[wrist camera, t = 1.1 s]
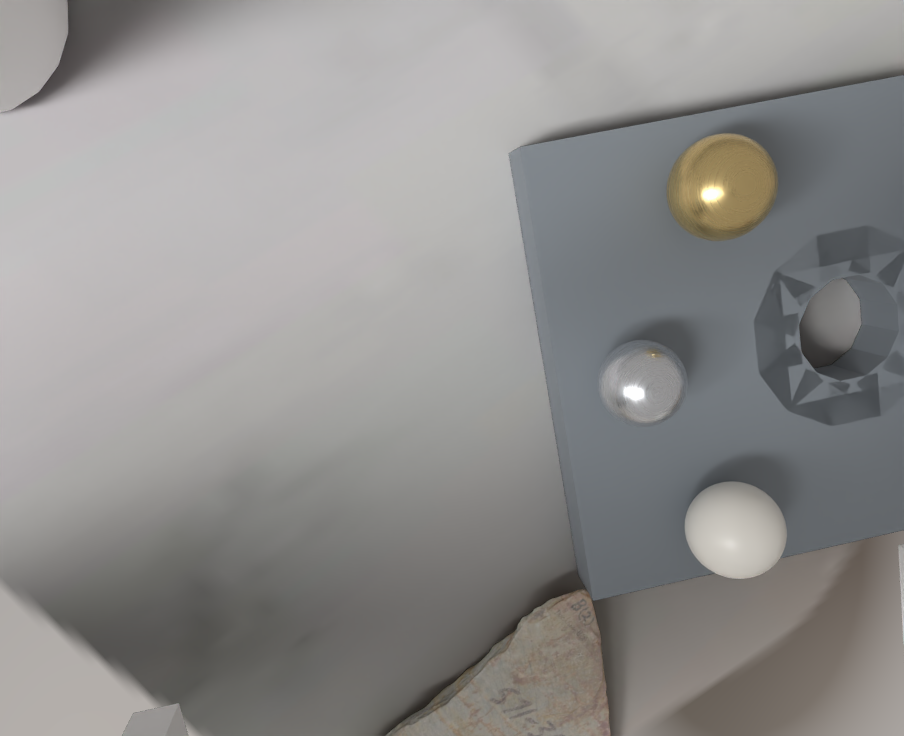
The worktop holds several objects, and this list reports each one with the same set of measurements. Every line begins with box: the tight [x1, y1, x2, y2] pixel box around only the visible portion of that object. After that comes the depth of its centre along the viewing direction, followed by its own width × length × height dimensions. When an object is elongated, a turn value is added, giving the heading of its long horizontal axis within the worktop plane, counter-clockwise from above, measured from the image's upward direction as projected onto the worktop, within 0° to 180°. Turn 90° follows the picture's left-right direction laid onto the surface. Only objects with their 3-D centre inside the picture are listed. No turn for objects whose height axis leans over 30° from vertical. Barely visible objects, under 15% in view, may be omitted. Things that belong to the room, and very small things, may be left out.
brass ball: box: [666, 133, 778, 241], centre depth 28 cm, size 4×4×4 cm
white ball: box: [685, 481, 787, 579], centre depth 30 cm, size 4×4×4 cm
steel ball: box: [598, 340, 688, 427], centre depth 29 cm, size 4×4×4 cm
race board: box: [509, 75, 904, 601], centre depth 31 cm, size 18×20×5 cm
